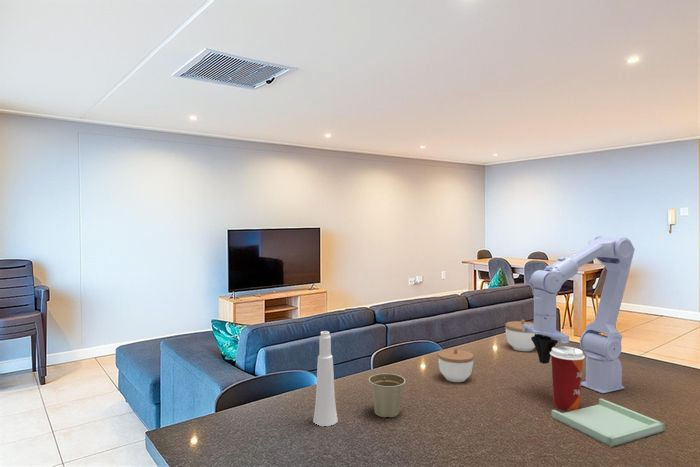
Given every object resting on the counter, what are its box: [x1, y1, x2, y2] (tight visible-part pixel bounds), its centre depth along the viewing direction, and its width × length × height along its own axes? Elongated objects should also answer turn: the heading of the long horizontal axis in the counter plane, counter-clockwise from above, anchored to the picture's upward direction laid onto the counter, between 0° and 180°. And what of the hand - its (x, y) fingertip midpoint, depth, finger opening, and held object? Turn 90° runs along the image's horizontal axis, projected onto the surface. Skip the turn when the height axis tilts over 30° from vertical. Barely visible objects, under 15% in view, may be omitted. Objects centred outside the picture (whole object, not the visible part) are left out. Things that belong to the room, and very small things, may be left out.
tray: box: [551, 398, 666, 448], centre depth 108 cm, size 18×16×2 cm
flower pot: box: [368, 373, 407, 418], centre depth 115 cm, size 9×9×9 cm
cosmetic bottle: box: [312, 330, 339, 427], centre depth 110 cm, size 6×6×22 cm
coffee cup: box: [550, 345, 586, 412], centre depth 119 cm, size 8×8×15 cm
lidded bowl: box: [504, 319, 536, 352], centre depth 171 cm, size 13×13×11 cm
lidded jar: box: [437, 348, 475, 383], centre depth 139 cm, size 11×11×9 cm
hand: (544, 362), depth 125 cm, fingers closed
